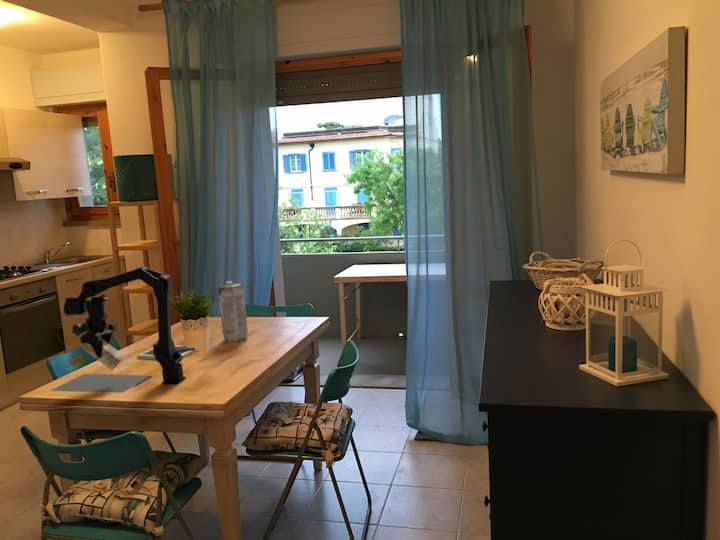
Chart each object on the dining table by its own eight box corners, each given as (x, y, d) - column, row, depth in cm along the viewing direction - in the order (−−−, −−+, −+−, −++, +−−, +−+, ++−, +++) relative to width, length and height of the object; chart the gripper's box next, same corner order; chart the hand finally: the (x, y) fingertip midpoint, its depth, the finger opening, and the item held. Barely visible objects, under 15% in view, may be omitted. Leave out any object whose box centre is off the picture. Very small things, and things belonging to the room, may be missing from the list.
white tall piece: (124, 356, 222) (96, 334, 220) (119, 360, 217) (90, 338, 215) (116, 366, 222) (88, 344, 221) (111, 370, 217) (82, 348, 216)
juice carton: (249, 339, 272) (244, 281, 268) (226, 343, 268) (220, 284, 264) (244, 335, 280) (239, 279, 276) (222, 339, 276) (216, 282, 271)
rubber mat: (151, 376, 228) (151, 375, 228) (122, 394, 211) (122, 392, 211) (84, 375, 235) (83, 373, 235) (50, 392, 218) (50, 390, 218)
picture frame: (200, 351, 261) (162, 348, 269) (199, 345, 260) (162, 342, 268) (176, 362, 246) (137, 359, 254) (175, 356, 246) (136, 353, 254)
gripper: (85, 309, 226) (91, 349, 228) (62, 321, 207) (68, 364, 210) (114, 307, 226) (120, 347, 228) (94, 319, 207) (100, 362, 210)
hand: (102, 355), depth 219 cm, fingers closed on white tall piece, 5 cm apart
